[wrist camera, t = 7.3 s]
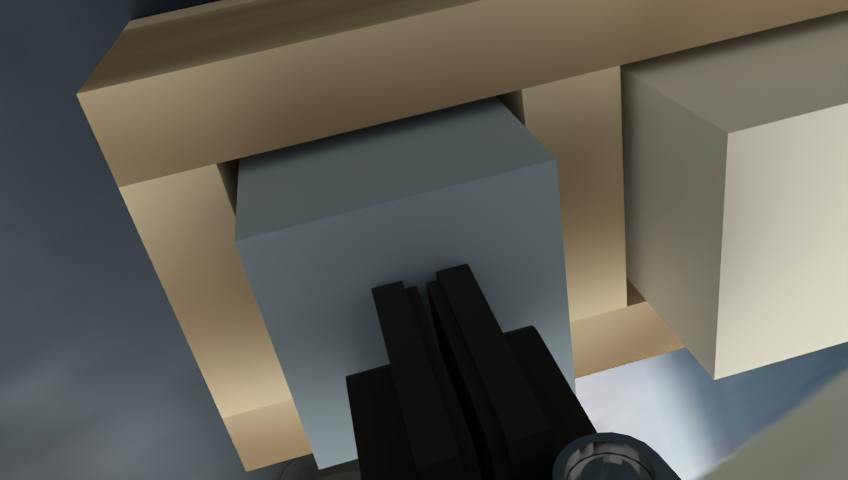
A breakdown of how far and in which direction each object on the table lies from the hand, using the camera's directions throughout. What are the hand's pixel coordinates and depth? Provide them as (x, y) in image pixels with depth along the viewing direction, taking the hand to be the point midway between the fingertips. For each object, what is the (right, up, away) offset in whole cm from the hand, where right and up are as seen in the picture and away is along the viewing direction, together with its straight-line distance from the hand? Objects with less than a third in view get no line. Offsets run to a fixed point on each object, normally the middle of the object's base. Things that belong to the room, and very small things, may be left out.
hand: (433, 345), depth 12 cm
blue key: (-1, +2, +3) cm, 4 cm away
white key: (+6, +4, +3) cm, 8 cm away
